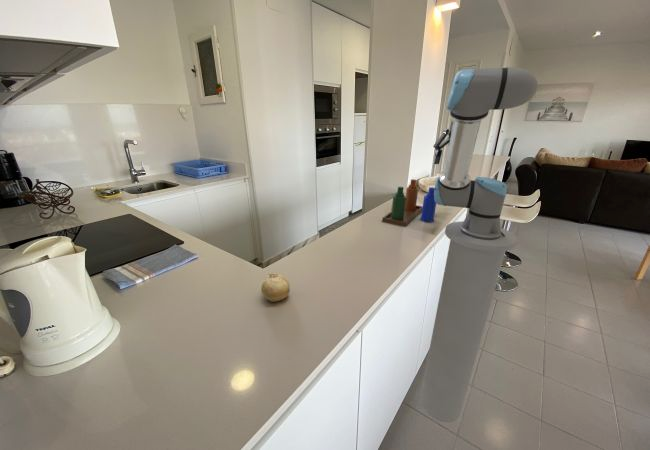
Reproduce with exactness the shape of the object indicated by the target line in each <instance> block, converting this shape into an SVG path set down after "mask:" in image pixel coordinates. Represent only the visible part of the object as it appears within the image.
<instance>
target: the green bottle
mask: <svg viewBox="0 0 650 450" xmlns="http://www.w3.org/2000/svg"><path fill="white" fill-rule="evenodd" d="M405 202H406V195H405V193H404V187H403V186H398V187H397V191H396V192H395V194H394V195H392V205H391V211H392V213H391V219H394V220H399V221H403V219H404V211H405Z"/></svg>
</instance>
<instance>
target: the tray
mask: <svg viewBox="0 0 650 450" xmlns="http://www.w3.org/2000/svg"><path fill="white" fill-rule="evenodd" d="M422 208H423V205H417V204H416V210H415V211H406V210H405V211H404V219H403V221H399V220H394V219H391V213H392V210H390V212H388V213H387V214H386V215H384V216H383V217H381V218H382V219H381V220H382V223H388V224H391V225H397V226H400V227H406V226H407V225H409V224H410V223H411V222H412V221H413V220H415V218H417V216H418V215H420V214H421V213H422Z"/></svg>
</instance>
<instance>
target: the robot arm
mask: <svg viewBox="0 0 650 450" xmlns="http://www.w3.org/2000/svg"><path fill="white" fill-rule="evenodd" d="M537 90H538V79H537V77H536V75H534V74H533V73H532V72H530V71H529V70H527V69H524V68H521V67H514V66H513V67H512V66H511V67H510V66H508V67H490V68H489V67H487V68H470V69H469V68H468V69H461V70H458V71H457V73H456V74H455V75H454V78H453V81H452V85H451V88H450V92H449V96H448V99H447V103H446V110H448V111H449V115H450V117H451V118H452V119H451V123H450V126H449V128H446V129H443V131H442V134H441V135H440V136H439V138H437V140H436V141H435V142H434V144H433V146H432V147H433V148H434V151H435V152H434V153H435V155H434V163H433V164H434V165H439V164H440V161H441V158H442V155H443V148H445V147H446V146H447V145H448V150H447V155H446V161H445V167H444V171H442V173H441V174H440V175H439V176H438V177H436V178H435V180H434V188H435V191H434V200H435V203H436V205H439V206H442V207H443V206H444V207H454V208H463V209H468V213H467V215H466V216H465V218H464V220H463V221H464V222H463V223H462V225H461V229H460V230H461V232H462V233H464V234H465V235H468V236H470V237H473V238H477V239H484V240H495V239H498V238H500V236H501V234H502V235H503V236H505V235H504V234H503V233H502V232H501V228H502V227H501V226H502V225H501V220H500V219H501V214H502V211H503V207H504V203H505V199H506V197H507V191H508V186H507V184H506V183H505V182H503V181H501V180H498V179H495V178H491V177H486V176H476V177H475V179H474V180H471V176H470V175H469V170H470V167H471V162H472V159H473V155H474V150H475V148H476V147H475V146H476V143H477V139H478V136H479V135H478V134H479V131H480V126H481V123H482V120H484V119H486V118H487V117H488V115H489V112H490V111H494V110H498V111H499V110H509V109H513V108H516V107H520V106H522V105H524V104H527V103H528V102H529V101H530V100H531V99H532V98H533V97H534V95H535V94H536V92H537Z"/></svg>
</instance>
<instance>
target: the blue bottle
mask: <svg viewBox="0 0 650 450" xmlns="http://www.w3.org/2000/svg"><path fill="white" fill-rule="evenodd" d="M434 191H435V187H432V186H431V187H430V186H429V187H428V192H427V193H426V195H424V196H423V201H422V202H423V203H422V207H423V208H422V211H421V215H420V221H422V222H425V223H433V222H434V220H435V215H436V214H435V213H436V208H437V204H436V203H435V200H434Z"/></svg>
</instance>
